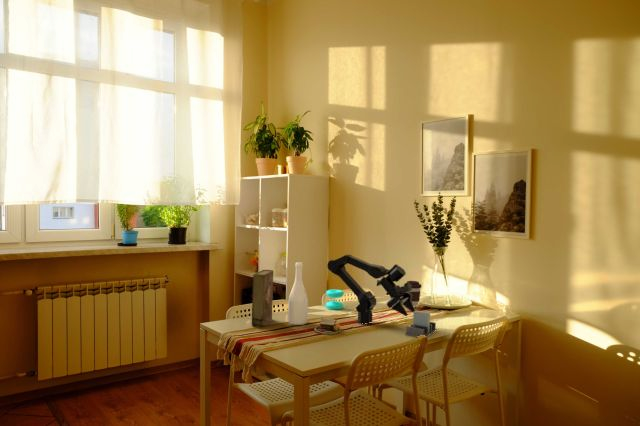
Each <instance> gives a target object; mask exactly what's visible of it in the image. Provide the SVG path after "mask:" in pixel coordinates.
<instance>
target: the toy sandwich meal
mask: <svg viewBox="0 0 640 426" xmlns="http://www.w3.org/2000/svg"><path fill="white" fill-rule="evenodd" d="M340 325H341V323H340V322H337V320H336V319H333V318H325V317H324V318H320V322H319V326H316V327H314V329H313V330H314V331H315V332H316V333H317V332H318V333H317V334H320V333H321V334H322V335H328V334H330V335H337V334H339V333H340V332H341V330H342V329H341V327H340ZM338 332H339V333H338ZM336 333H337V334H336Z"/></svg>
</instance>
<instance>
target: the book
mask: <svg viewBox="0 0 640 426" xmlns="http://www.w3.org/2000/svg"><path fill="white" fill-rule="evenodd" d="M273 289H274V270H272V269H262V270H260V271H258V272H255V273H253V274H252V297H251V298H252V299H251V300H252V301H251V302H252V303H251V304H252V305H251V308H252V309H251V326H260V327H264V325H265V324H266V325H267V324H269V323H270V322H271V321H272V320H273V297H274V296H273V295H274V293H273V292H274V290H273ZM266 325H265V326H266Z"/></svg>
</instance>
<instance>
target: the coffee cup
mask: <svg viewBox="0 0 640 426" xmlns="http://www.w3.org/2000/svg"><path fill="white" fill-rule="evenodd" d="M406 283H409V284H411V285H412V287H411V288H412V290H411V291H408V292H411V293H412V300H411V301H412V304H413V306H416V305H418V302H419V303H420V298H421V288H422V284H421V283H420V282H419V281H417V280H407V281H406Z"/></svg>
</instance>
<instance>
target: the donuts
mask: <svg viewBox="0 0 640 426" xmlns="http://www.w3.org/2000/svg"><path fill="white" fill-rule="evenodd" d="M325 294H326V296H327V297H329V298H330V299H331V298H332V299H333V298H334V299H339V298H342V297H343V296H344V294H345V293H344V291H343V290H341V289H328V290H326V292H325ZM325 308H326V309H328V310H334V311H337V310H338V311H339V310H342V309H343V308H344V304H343V302H341V301H337V300H330V301H328V302H326V304H325Z"/></svg>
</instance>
